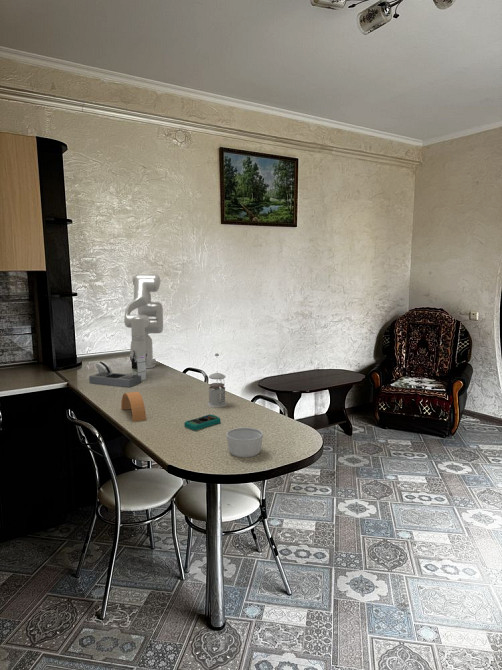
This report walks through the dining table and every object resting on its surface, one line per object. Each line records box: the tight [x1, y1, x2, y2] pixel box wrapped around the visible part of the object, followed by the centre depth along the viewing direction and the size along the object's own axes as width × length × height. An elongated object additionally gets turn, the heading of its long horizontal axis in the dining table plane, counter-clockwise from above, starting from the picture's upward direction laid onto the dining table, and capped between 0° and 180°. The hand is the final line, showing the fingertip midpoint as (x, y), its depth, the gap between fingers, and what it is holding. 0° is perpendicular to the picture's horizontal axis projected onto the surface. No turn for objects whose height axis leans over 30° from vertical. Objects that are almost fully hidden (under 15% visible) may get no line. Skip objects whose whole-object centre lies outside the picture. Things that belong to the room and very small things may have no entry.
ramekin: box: [225, 426, 264, 458], centre depth 168 cm, size 13×13×7 cm
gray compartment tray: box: [88, 372, 142, 388], centre depth 264 cm, size 12×26×4 cm, turn 71°
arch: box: [121, 391, 147, 423], centre depth 209 cm, size 6×20×10 cm, turn 29°
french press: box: [206, 353, 228, 408], centre depth 225 cm, size 10×12×25 cm
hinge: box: [95, 361, 114, 373], centre depth 280 cm, size 17×5×10 cm, turn 37°
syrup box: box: [132, 355, 147, 381], centre depth 272 cm, size 6×6×14 cm
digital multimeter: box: [183, 413, 221, 432], centre depth 196 cm, size 7×15×3 cm, turn 137°
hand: (139, 367), depth 272 cm, fingers open, 9 cm apart
